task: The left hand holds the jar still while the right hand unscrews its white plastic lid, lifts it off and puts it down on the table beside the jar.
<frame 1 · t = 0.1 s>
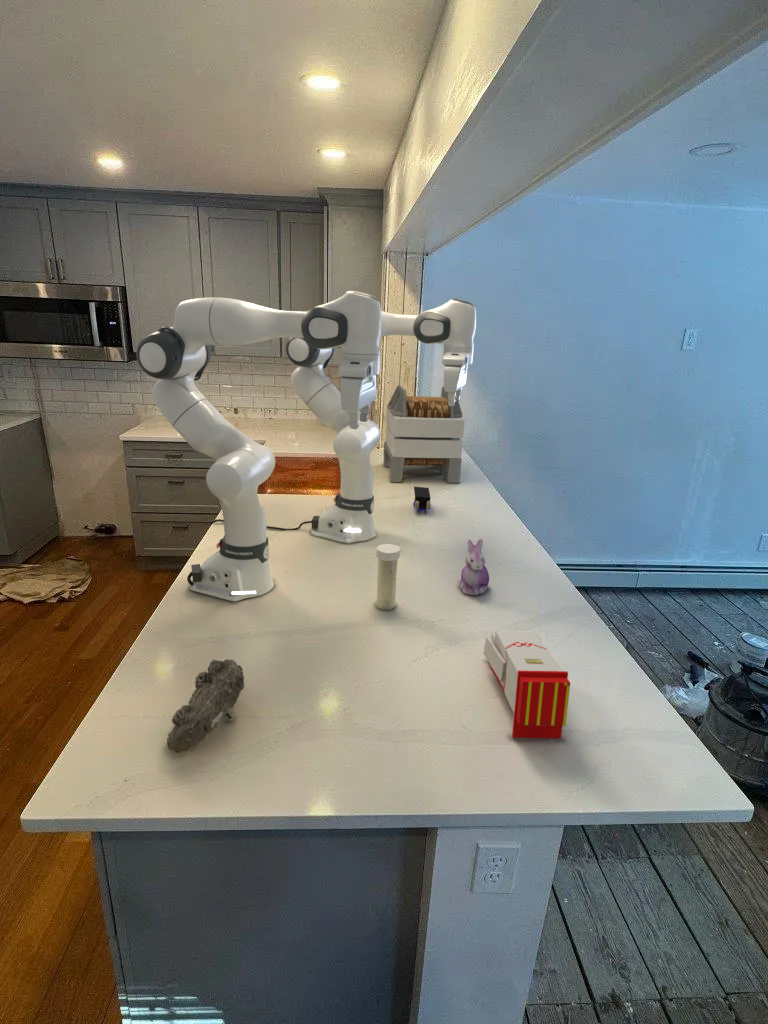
left hand: (359, 424, 137), 48 cm above the counter, tool pointing down, fingers open, 8 cm apart
right hand: (454, 403, 174), 48 cm above the counter, tool pointing down, fingers open, 8 cm apart
figurine: (473, 589, 163), on the counter
transformer: (419, 473, 275), on the counter
fossil: (212, 717, 108), on the counter
lid: (388, 549, 146), point 16 cm above the counter, screwed on, not yet turned
figurine character: (421, 509, 225), on the counter
jar: (385, 605, 152), on the counter
toy: (517, 692, 119), on the counter
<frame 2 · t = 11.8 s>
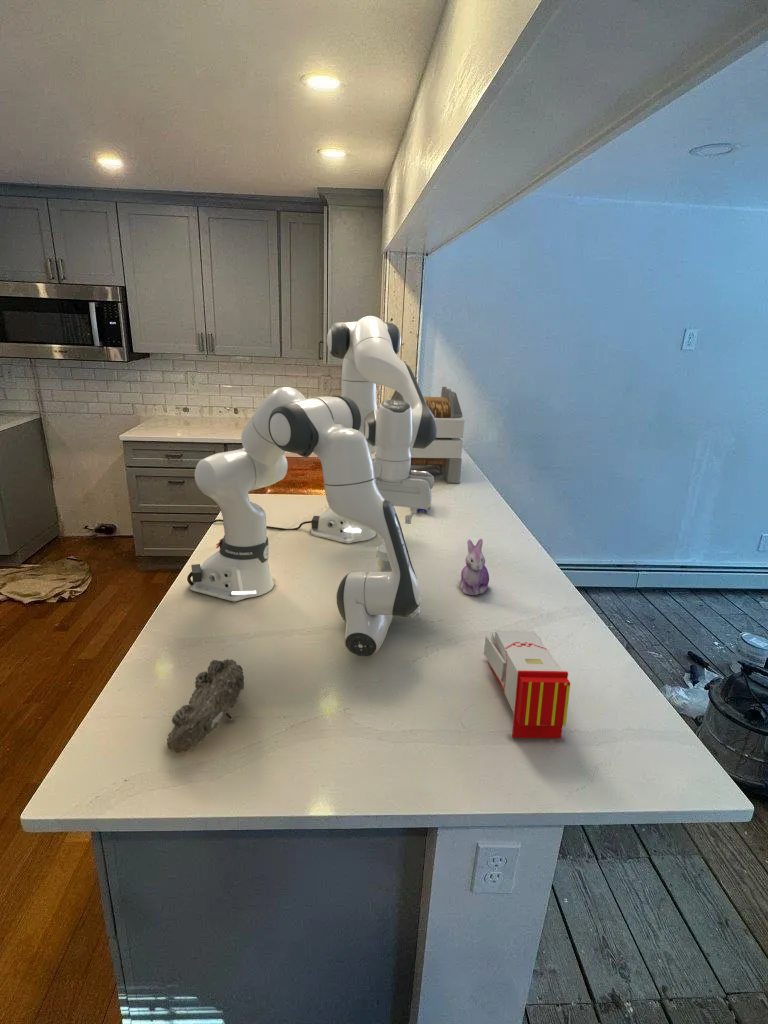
left hand: (387, 585, 151), 6 cm above the counter, tool horizontal, fingers closed on jar, 5 cm apart
right hand: (389, 521, 143), 24 cm above the counter, tool pointing down, fingers open, 8 cm apart
jar: (385, 605, 152), on the counter, touching left hand
everything else where it was.
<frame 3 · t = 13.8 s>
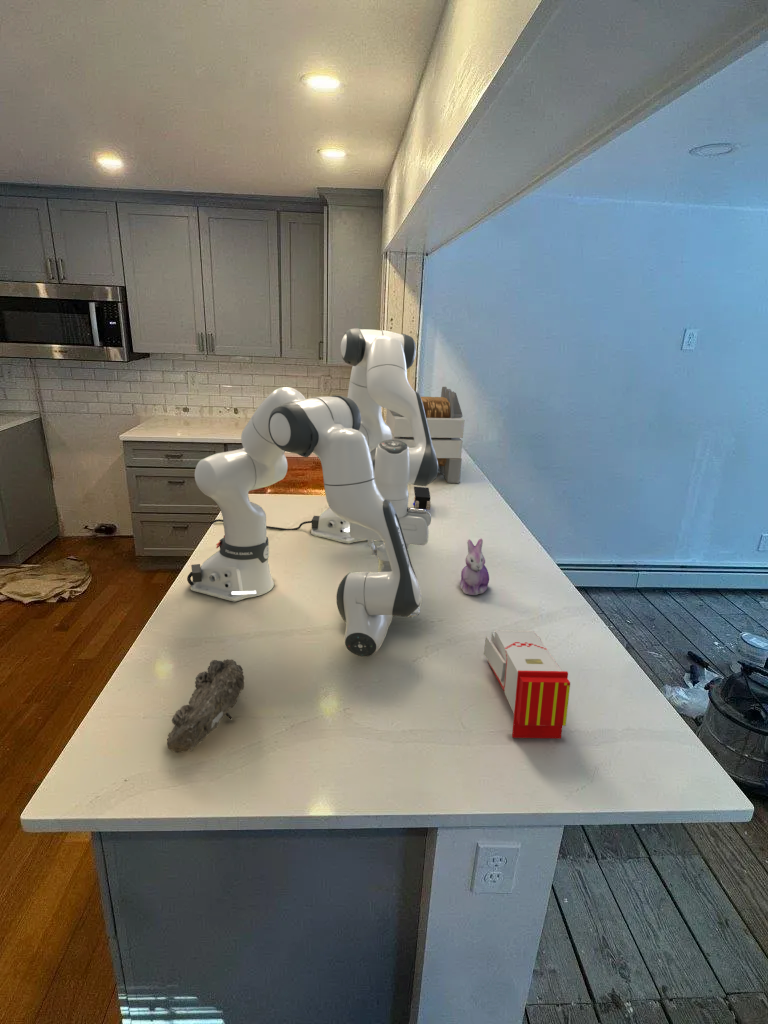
left hand: (387, 585, 151), 6 cm above the counter, tool horizontal, fingers closed on jar, 5 cm apart
right hand: (387, 556, 147), 14 cm above the counter, tool pointing down, fingers closed on lid, 5 cm apart
lid: (388, 549, 146), point 16 cm above the counter, screwed on, not yet turned, touching right hand
jar: (385, 605, 152), on the counter, touching left hand
everything else where it was.
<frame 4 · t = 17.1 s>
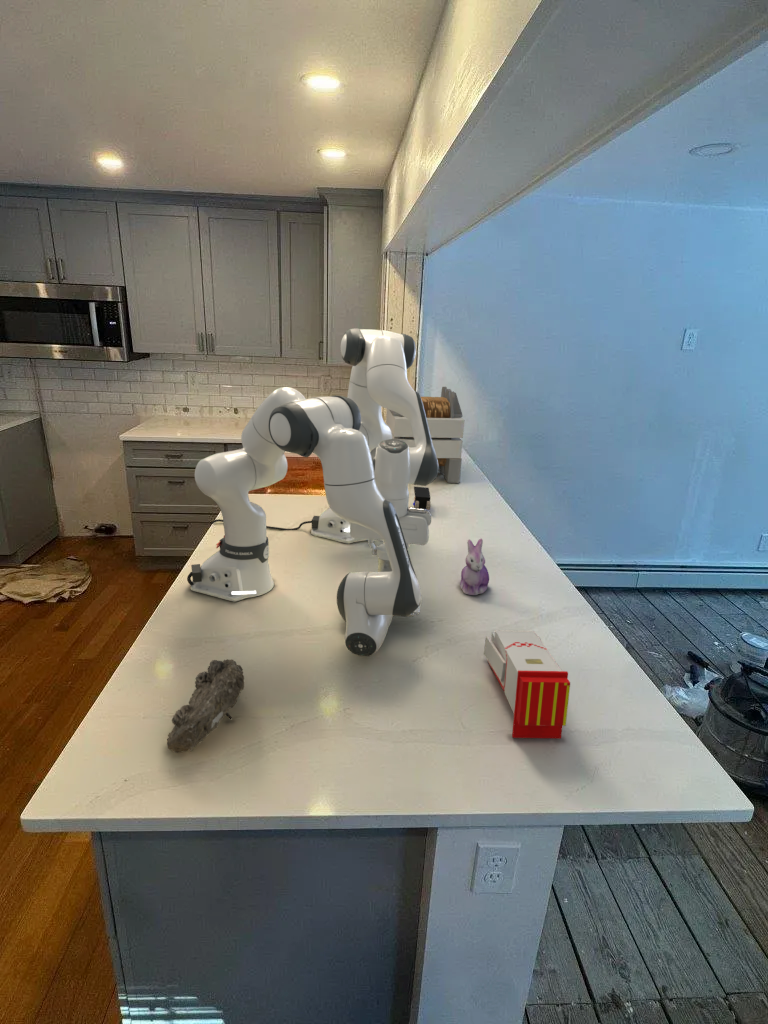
left hand: (387, 585, 151), 6 cm above the counter, tool horizontal, fingers closed on jar, 5 cm apart
right hand: (388, 556, 147), 14 cm above the counter, tool pointing down, fingers closed on lid, 5 cm apart
lid: (388, 549, 146), point 16 cm above the counter, turned 96° so far, risen 0.1 cm, still on its thread, touching right hand
jar: (385, 605, 152), on the counter, touching left hand
everything else where it was.
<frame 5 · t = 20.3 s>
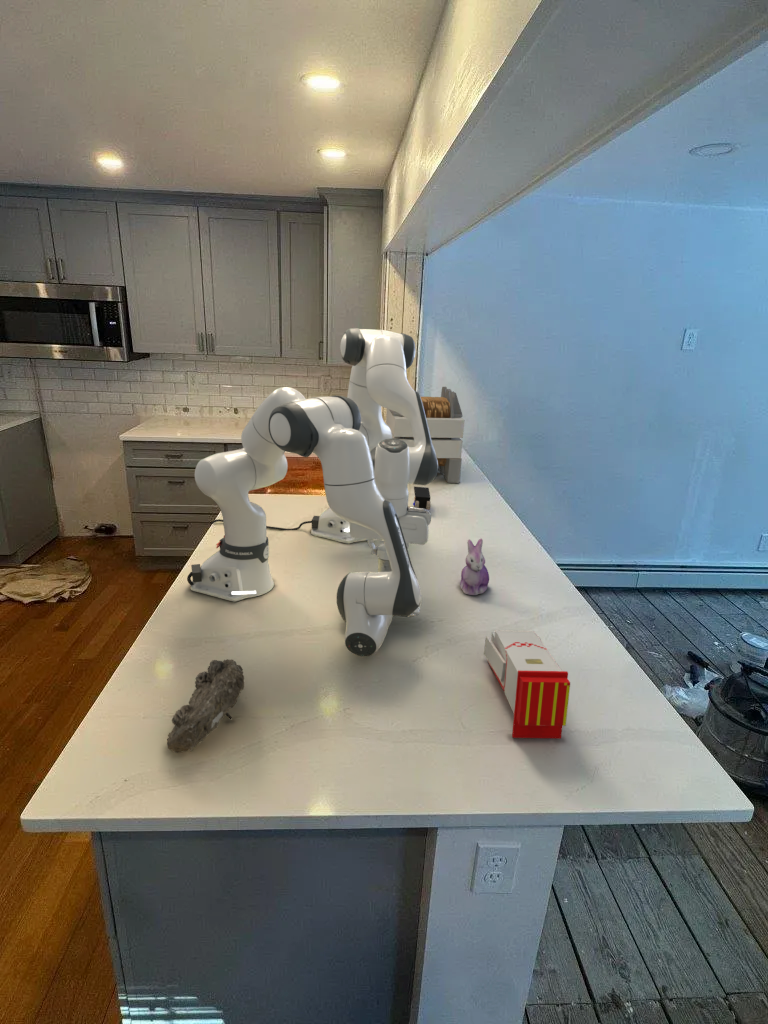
left hand: (387, 585, 151), 6 cm above the counter, tool horizontal, fingers closed on jar, 5 cm apart
right hand: (387, 555, 147), 15 cm above the counter, tool pointing down, fingers closed on lid, 5 cm apart
lid: (388, 548, 146), point 16 cm above the counter, turned 192° so far, risen 0.2 cm, still on its thread, touching right hand
jar: (385, 605, 152), on the counter, touching left hand
everything else where it was.
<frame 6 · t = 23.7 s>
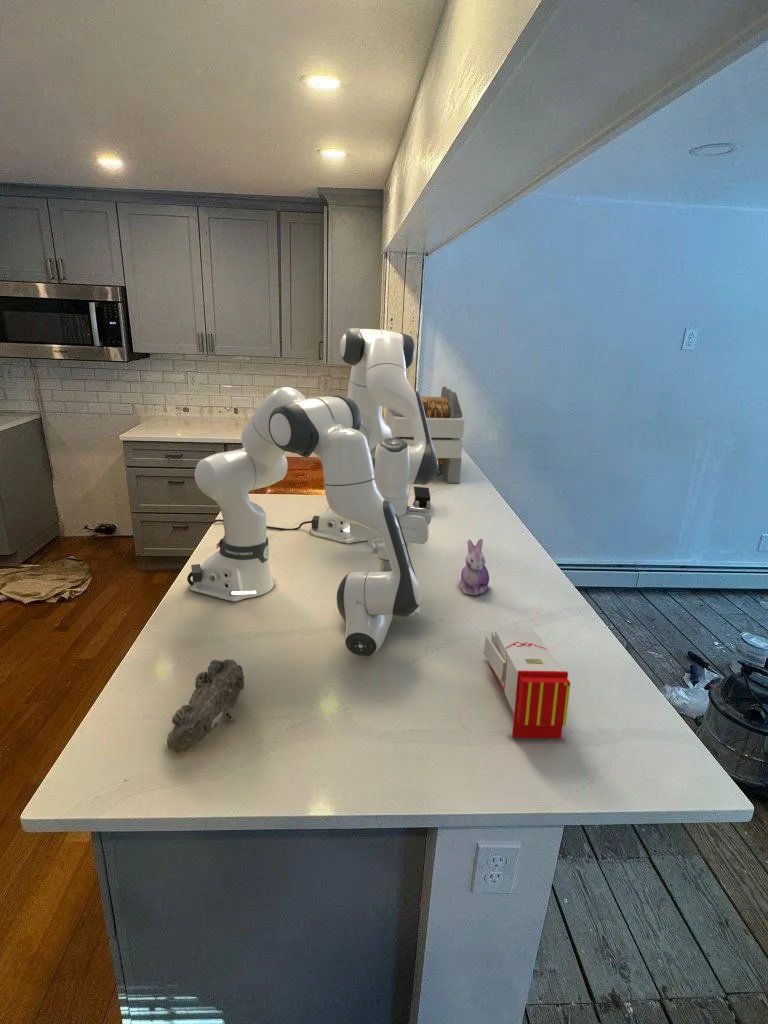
left hand: (387, 585, 151), 6 cm above the counter, tool horizontal, fingers closed on jar, 5 cm apart
right hand: (387, 555, 147), 15 cm above the counter, tool pointing down, fingers closed on lid, 6 cm apart
lid: (388, 548, 146), point 17 cm above the counter, turned 289° so far, risen 0.4 cm, still on its thread, touching right hand
jar: (385, 605, 152), on the counter, touching left hand
everything else where it was.
when the right hand's fingers open (2 cm above the counter, at t = 30.4 s): lid drops 2 cm, point 2 cm above the counter.
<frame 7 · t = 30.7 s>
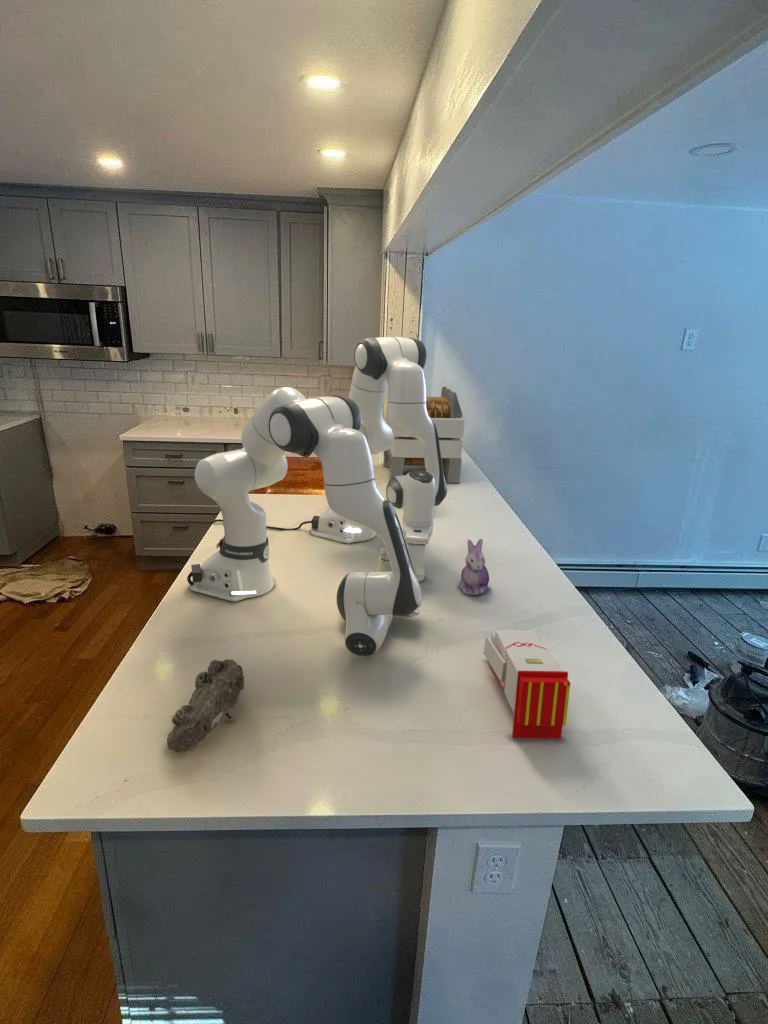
left hand: (387, 585, 151), 5 cm above the counter, tool horizontal, fingers closed on jar, 5 cm apart
right hand: (414, 570, 167), 2 cm above the counter, tool pointing down, fingers open, 8 cm apart
lid: (414, 571, 167), point 2 cm above the counter, off its thread
jar: (385, 605, 152), on the counter, touching left hand
everything else where it was.
when the left hand's fingers open (5 cm above the counter, at t = 31.4 s): jar stays where it is, on the counter.
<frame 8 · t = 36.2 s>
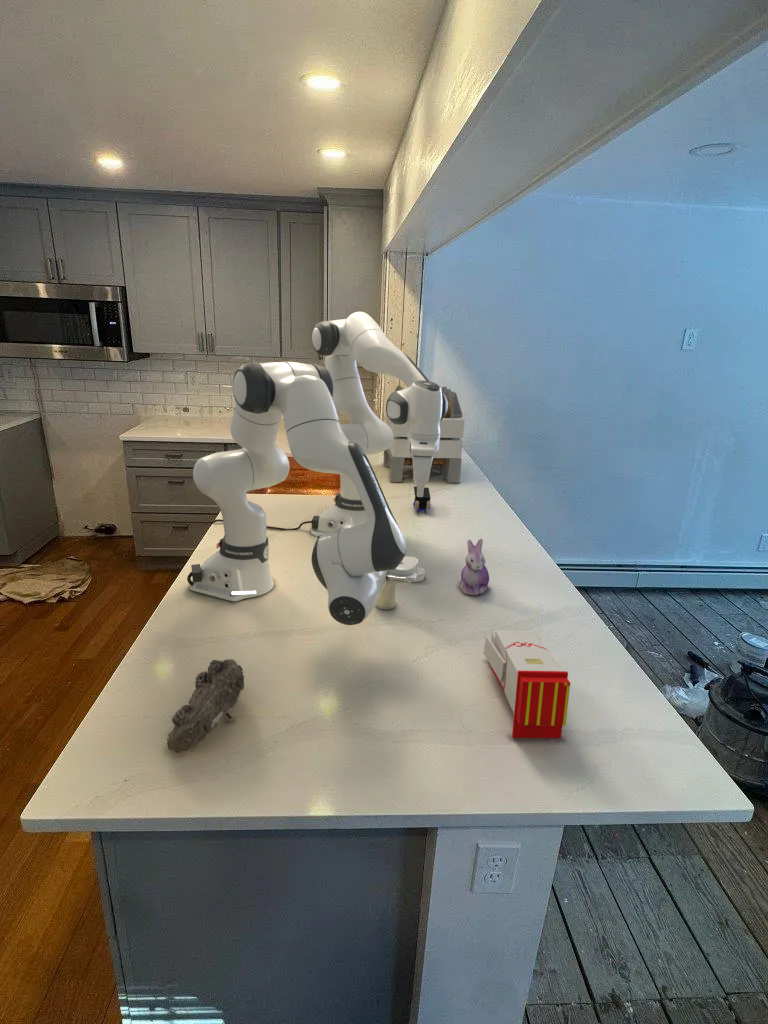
left hand: (379, 551, 134), 21 cm above the counter, tool horizontal, fingers open, 8 cm apart
right hand: (420, 491, 159), 27 cm above the counter, tool pointing down, fingers open, 8 cm apart
jar: (385, 605, 152), on the counter
everything else where it was.
at the end: lid came off its thread; lid point 1.9 cm above the counter; the left hand is holding nothing; the right hand is holding nothing; jar tilted 0°; jar moved 0.1 cm from its start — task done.
